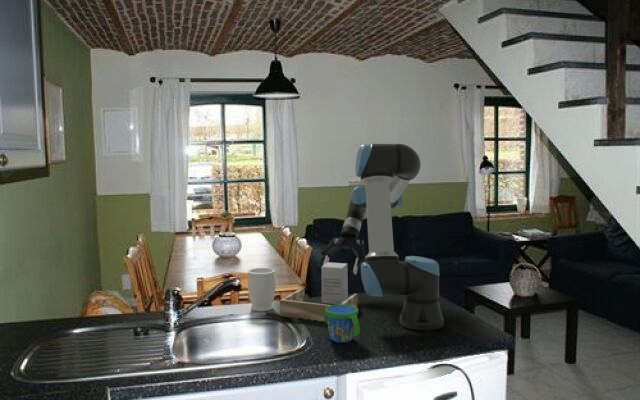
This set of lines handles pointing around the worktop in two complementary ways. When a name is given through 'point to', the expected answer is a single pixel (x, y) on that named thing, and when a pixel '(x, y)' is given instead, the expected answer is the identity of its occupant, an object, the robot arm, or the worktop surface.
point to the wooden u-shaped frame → (307, 306)
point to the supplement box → (334, 283)
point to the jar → (261, 288)
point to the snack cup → (342, 322)
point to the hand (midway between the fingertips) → (338, 271)
